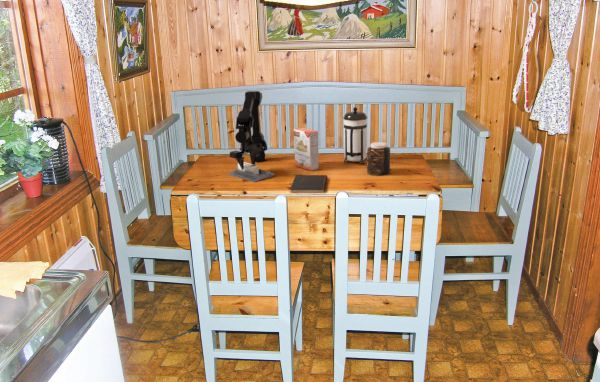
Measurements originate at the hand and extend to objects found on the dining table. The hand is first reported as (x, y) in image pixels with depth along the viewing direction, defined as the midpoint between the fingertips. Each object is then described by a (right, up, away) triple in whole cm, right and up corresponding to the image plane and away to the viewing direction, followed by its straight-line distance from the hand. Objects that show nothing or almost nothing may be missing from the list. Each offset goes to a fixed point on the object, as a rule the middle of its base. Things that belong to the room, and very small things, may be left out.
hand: (248, 167), depth 291 cm
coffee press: (+58, +4, +17) cm, 60 cm away
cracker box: (+31, 0, +9) cm, 32 cm away
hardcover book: (+32, -10, -20) cm, 39 cm away
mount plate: (+2, -4, -1) cm, 4 cm away
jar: (+67, -3, -4) cm, 67 cm away
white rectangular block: (0, -2, +1) cm, 2 cm away
